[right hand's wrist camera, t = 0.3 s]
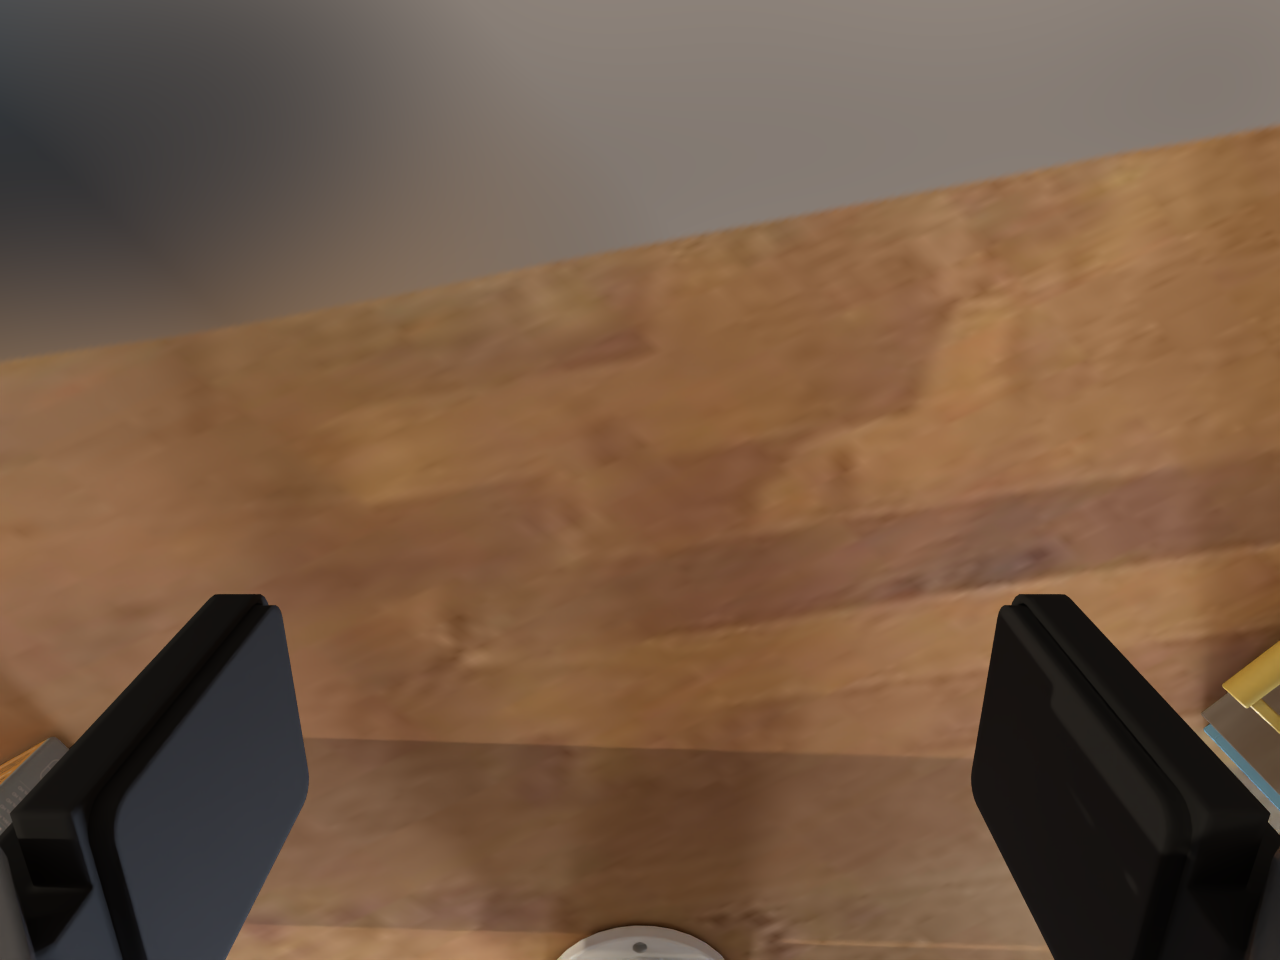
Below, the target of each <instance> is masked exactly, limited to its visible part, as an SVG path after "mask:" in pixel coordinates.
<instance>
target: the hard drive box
mask: <svg viewBox="0 0 1280 960" xmlns="http://www.w3.org/2000/svg"><path fill="white" fill-rule="evenodd" d="M68 750H69V749H68V748H67V747H66V746H65V745H64V744H63V743H62V742H61V741H60V740H59V739H58V738H56V737H50V738H48V739H46V740H45V741H43V742H41V743H39V744H37V745H36V746H34V747H32V748H30V749H29V750H27V751H25V752H24V753H22V754H20V755H18V756H16V757H14V758H12V759H11V760H9V761H7V762H6V763H4V764H2V765H1V766H0V835H1V834H2V833H3V832H4V831H5V829H6V828H7V827H8V826H9V825H10V824H11V823H12V819H11V816H10V812H11V811H12V810H13V809H14V808H15V807H16V806H17V805H18V804H19V803H20V802H21V801H22V800H23V799H24V797H25V796H26V795H27V794H28V793H29V792H30V791H31V790H32V789H33V788H34V787H35V786H36V785H37V783H38V782H39V781H40V780H41V779H42V778H43V777H44V776H45V775H46V774H47V773H48V772H49V771H50V770H51V768H52V767H53V766H54V765H55V764H56V763H57V762H58V761H59V760H60V759H61V758H62V757H63V756H64V754H65V753H66V752H67V751H68Z"/></svg>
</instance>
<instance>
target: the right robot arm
mask: <svg viewBox="0 0 1280 960" xmlns="http://www.w3.org/2000/svg"><path fill="white" fill-rule="evenodd" d="M308 785H309V774H308V766H307V760H306V755H305V749H304V743H303V737H302V731H301V725H300V719H299V713H298V707H297V701H296V695H295V689H294V683H293V677H292V671H291V665H290V660H289V654H288V648H287V642H286V636H285V630H284V624H283V618H282V614H281V611H280V609H279V607H277V606H276V605H268V602H267V600H266V599H265V597H264V596H262V595H261V594H217V595H214V596H212V597H211V598H210V599H209V600H208V601H207V602H206V603H205V604H204V605H203V606H202V607H201V608H200V609H199V611H198V612H197V613H196V614H195V615H194V616H193V617H192V618H191V619H190V620H189V621H188V622H187V623H186V625H185V626H184V627H183V628H182V629H181V630H180V631H179V632H178V633H177V634H176V635H175V636H174V637H173V638H172V640H171V641H170V642H169V643H168V644H167V645H166V646H165V647H164V648H163V649H162V650H161V651H160V652H159V654H158V655H157V656H156V657H155V658H154V659H153V660H152V661H151V662H150V663H149V664H148V665H147V666H146V667H145V669H144V670H143V671H142V672H141V673H140V674H139V675H138V676H137V677H136V678H135V679H134V680H133V681H132V683H131V684H130V685H129V686H128V687H127V688H126V689H125V690H124V691H123V692H122V693H121V694H120V695H119V696H118V698H117V699H116V700H115V701H114V702H113V703H112V704H111V705H110V706H109V707H108V708H107V709H106V710H105V712H104V713H103V714H102V715H101V716H100V717H99V718H98V719H97V720H96V721H95V722H94V723H93V724H92V725H91V727H90V728H89V729H88V730H87V731H86V732H85V733H84V734H83V735H82V736H81V737H80V738H79V739H78V741H77V742H76V743H75V744H74V745H73V746H72V747H71V748H70V749H69V750H68V751H67V752H66V753H65V754H64V756H63V757H62V758H61V759H60V760H59V761H58V762H57V763H56V764H55V765H54V766H53V767H52V768H51V770H50V771H49V772H48V773H47V774H46V775H45V776H44V777H43V778H42V779H41V780H40V781H39V782H38V783H37V785H36V786H35V787H34V788H33V789H32V790H31V791H30V792H29V793H28V794H27V795H26V796H25V797H24V799H23V800H22V801H21V802H20V803H19V804H18V805H17V806H16V807H15V808H14V809H13V810H12V811H11V812H10V816H11V819H12V823H11V824H10V825H9V826H8V827H7V828H6V829H5V831H4V832H3V833H2V834H1V835H0V960H225V959H226V957H227V955H228V953H229V951H230V949H231V947H232V945H233V943H234V941H235V939H236V937H237V936H238V934H239V932H240V930H241V928H242V926H243V924H244V922H245V920H246V918H247V916H248V914H249V912H250V910H251V908H252V906H253V904H254V902H255V900H256V898H257V896H258V894H259V892H260V890H261V888H262V886H263V884H264V882H265V880H266V878H267V876H268V874H269V872H270V870H271V868H272V866H273V864H274V862H275V860H276V858H277V856H278V854H279V852H280V850H281V848H282V846H283V844H284V842H285V840H286V838H287V836H288V834H289V832H290V830H291V828H292V826H293V824H294V822H295V820H296V818H297V816H298V814H299V812H300V810H301V808H302V806H303V804H304V802H305V799H306V796H307V792H308ZM971 785H972V792H973V796H974V799H975V802H976V804H977V806H978V808H979V810H980V812H981V814H982V816H983V818H984V820H985V822H986V824H987V826H988V828H989V830H990V832H991V834H992V836H993V838H994V840H995V842H996V844H997V846H998V848H999V850H1000V852H1001V854H1002V856H1003V858H1004V860H1005V862H1006V864H1007V866H1008V868H1009V870H1010V872H1011V874H1012V876H1013V878H1014V880H1015V882H1016V884H1017V886H1018V888H1019V890H1020V892H1021V894H1022V896H1023V898H1024V900H1025V902H1026V904H1027V906H1028V908H1029V910H1030V912H1031V914H1032V916H1033V918H1034V920H1035V922H1036V924H1037V926H1038V928H1039V930H1040V932H1041V934H1042V936H1043V937H1044V939H1045V941H1046V943H1047V945H1048V947H1049V949H1050V951H1051V953H1052V955H1053V957H1054V959H1055V960H1280V835H1279V834H1278V833H1277V832H1276V831H1275V829H1274V828H1273V827H1272V826H1271V825H1270V824H1269V823H1268V819H1269V816H1270V812H1269V811H1268V810H1267V809H1266V808H1265V807H1264V806H1263V805H1262V804H1261V803H1260V802H1259V801H1258V800H1257V799H1256V797H1255V796H1254V795H1253V794H1252V793H1251V792H1250V791H1249V790H1248V789H1247V788H1246V787H1245V786H1244V785H1243V783H1242V782H1241V781H1240V780H1239V779H1238V778H1237V777H1236V776H1235V775H1234V774H1233V773H1232V772H1231V771H1230V770H1229V768H1228V767H1227V766H1226V765H1225V764H1224V763H1223V762H1222V761H1221V760H1220V759H1219V758H1218V757H1217V756H1216V754H1215V753H1214V752H1213V751H1212V750H1211V749H1210V748H1209V747H1208V746H1207V745H1206V744H1205V743H1204V742H1203V741H1202V739H1201V738H1200V737H1199V736H1198V735H1197V734H1196V733H1195V732H1194V731H1193V730H1192V729H1191V728H1190V727H1189V725H1188V724H1187V723H1186V722H1185V721H1184V720H1183V719H1182V718H1181V717H1180V716H1179V715H1178V714H1177V713H1176V712H1175V710H1174V709H1173V708H1172V707H1171V706H1170V705H1169V704H1168V703H1167V702H1166V701H1165V700H1164V699H1163V698H1162V696H1161V695H1160V694H1159V693H1158V692H1157V691H1156V690H1155V689H1154V688H1153V687H1152V686H1151V685H1150V684H1149V683H1148V681H1147V680H1146V679H1145V678H1144V677H1143V676H1142V675H1141V674H1140V673H1139V672H1138V671H1137V670H1136V669H1135V667H1134V666H1133V665H1132V664H1131V663H1130V662H1129V661H1128V660H1127V659H1126V658H1125V657H1124V656H1123V655H1122V654H1121V652H1120V651H1119V650H1118V649H1117V648H1116V647H1115V646H1114V645H1113V644H1112V643H1111V642H1110V641H1109V640H1108V638H1107V637H1106V636H1105V635H1104V634H1103V633H1102V632H1101V631H1100V630H1099V629H1098V628H1097V627H1096V626H1095V625H1094V623H1093V622H1092V621H1091V620H1090V619H1089V618H1088V617H1087V616H1086V615H1085V614H1084V613H1083V612H1082V611H1081V609H1080V608H1079V607H1078V606H1077V605H1076V604H1075V603H1074V602H1073V601H1072V600H1071V599H1070V598H1069V597H1068V596H1066V595H1063V594H1019V595H1018V596H1016V597H1015V599H1014V600H1013V602H1012V605H1004V606H1003V607H1001V609H1000V611H999V614H998V618H997V624H996V630H995V636H994V642H993V648H992V654H991V660H990V665H989V671H988V677H987V683H986V689H985V695H984V701H983V707H982V713H981V719H980V725H979V731H978V737H977V743H976V749H975V755H974V760H973V766H972V774H971ZM557 960H725V959H724V958H723V957H722V956H721V955H720V954H719V953H718V952H717V951H716V950H714V949H713V948H712V947H710V946H709V945H708V944H707V943H705V942H703V941H701V940H699V939H697V938H695V937H693V936H691V935H689V934H686V933H683V932H680V931H677V930H674V929H669V928H663V927H657V926H627V927H618V928H613V929H610V930H606V931H602V932H598V933H596V934H594V935H591V936H589V937H587V938H585V939H582V940H581V941H579V942H578V943H576V944H575V945H573V946H572V947H570V948H569V949H567V950H566V951H565V952H564V953H563V954H562V955H561V956H560V957H559V958H558V959H557Z"/></svg>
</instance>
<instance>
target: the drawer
mask: <svg viewBox="0 0 1280 960" xmlns="http://www.w3.org/2000/svg"><path fill="white" fill-rule="evenodd" d="M1222 686H1223V688H1224V689H1225V690H1227V691H1228V693H1227V694H1226V695H1224V696H1223V697H1222V698H1220V699H1219V700H1218V701H1216V702H1215V703H1214V704H1212V705H1211V706H1210V707H1208V708H1207V709H1206V710H1204V711H1203V712H1202V713H1201V715H1202V716H1203V717H1204V718H1205V719H1206V720H1207V721H1208V722H1209V723H1210V724H1211V725H1212V726H1213V727H1214V728H1215V729H1216V730H1217V731H1218V732H1219V733H1220V734H1221V735H1222V736H1223V737H1224V738H1225V739H1226V740H1227V742H1228V743H1229V744H1230V745H1231V746H1232V747H1233V748H1234V749H1235V750H1236V751H1237V752H1238V753H1239V754H1240V755H1241V756H1242V757H1243V758H1244V759H1245V760H1246V761H1247V762H1248V763H1249V764H1250V765H1251V766H1252V767H1253V768H1254V769H1255V770H1256V771H1257V772H1258V773H1259V775H1260V776H1261V777H1262V778H1263V779H1264V780H1265V781H1266V782H1267V783H1268V784H1269V785H1270V786H1271V787H1272V788H1273V789H1274V790H1275V791H1276V792H1277V793H1278V794H1279V795H1280V641H1278V642H1277V643H1276V644H1274V645H1273V646H1272V647H1270V648H1269V649H1268V650H1267V651H1265V652H1264V653H1263V654H1261V655H1260V656H1259V657H1257V658H1256V659H1255V660H1253V661H1252V662H1251V663H1250V664H1248V665H1247V666H1246V667H1244V668H1243V669H1242V670H1240V671H1239V672H1238V673H1236V674H1235V675H1234V676H1233V677H1231V678H1230V679H1229V680H1227V681H1226V682H1225V683H1223V684H1222Z"/></svg>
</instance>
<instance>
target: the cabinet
mask: <svg viewBox="0 0 1280 960" xmlns="http://www.w3.org/2000/svg"><path fill="white" fill-rule="evenodd" d="M1204 731H1205V732H1206V733H1207V734H1208V735H1209V736H1210V737H1211V738H1212V740H1214V742H1215V743H1216V744H1217V745H1218V746H1219V747H1220V748H1221V749H1222V750H1223V751H1224V752H1225V753H1226V754H1227V755H1228V756H1229V758H1230V759H1231V760H1232V761H1233V762H1234V763H1235V764H1236V765H1237V766H1238V767H1239V768H1240V769H1241V770H1242V771H1243V772H1244V773H1245V774H1246V775H1247V776H1248V778H1249V779H1250V780H1251V781H1252V782H1253V783H1254V784H1255V785H1256V786H1257V787H1258V788H1259V789H1260V790H1261V791H1262V792H1263V793H1264V794H1265V795H1266V797H1267V798H1268V799H1269V800H1270V801H1271V802H1272V803H1273V804H1274V805H1275V806H1276V807H1277V808H1278V809H1279V810H1280V795H1279V794H1278V793H1277V792H1276V791H1275V790H1274V789H1273V788H1272V787H1271V786H1270V785H1269V784H1268V783H1267V782H1266V781H1265V780H1264V779H1263V778H1262V777H1261V776H1260V775H1259V773H1258V772H1257V771H1256V770H1255V769H1254V768H1253V767H1252V766H1251V765H1250V764H1249V763H1248V762H1247V761H1246V760H1245V759H1244V758H1243V757H1242V756H1241V755H1240V754H1239V753H1238V752H1237V751H1236V750H1235V749H1234V748H1233V747H1232V746H1231V745H1230V744H1229V743H1228V742H1227V740H1226V739H1225V738H1224V737H1223V736H1222V735H1221V734H1220V733H1219V732H1218V731H1217V730H1216V729H1215V728H1214V727H1213V726H1212V725H1211V724H1209V725H1208V726H1206V727H1205V728H1204Z"/></svg>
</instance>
